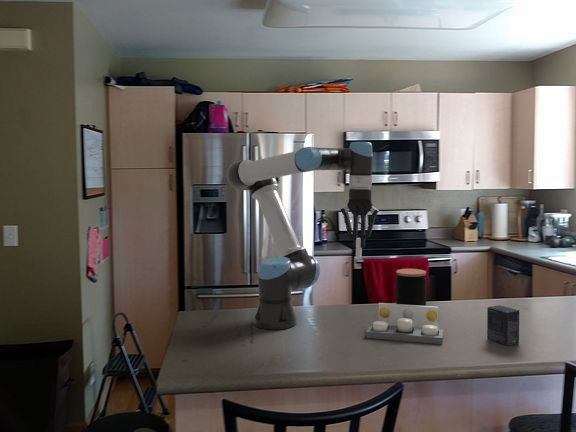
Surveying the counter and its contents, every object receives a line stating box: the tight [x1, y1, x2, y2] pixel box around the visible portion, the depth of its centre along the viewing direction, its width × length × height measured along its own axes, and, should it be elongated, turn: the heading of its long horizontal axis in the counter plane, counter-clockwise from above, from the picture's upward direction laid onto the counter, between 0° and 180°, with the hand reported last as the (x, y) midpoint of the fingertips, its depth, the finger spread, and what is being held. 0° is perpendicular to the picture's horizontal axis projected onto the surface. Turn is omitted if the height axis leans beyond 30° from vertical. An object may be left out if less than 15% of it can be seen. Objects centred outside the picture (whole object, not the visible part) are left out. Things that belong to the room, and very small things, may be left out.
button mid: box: [397, 318, 412, 332], centre depth 170 cm, size 5×5×3 cm
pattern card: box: [378, 302, 439, 328], centre depth 179 cm, size 20×1×8 cm, turn 71°
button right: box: [422, 325, 439, 336], centre depth 167 cm, size 5×5×3 cm
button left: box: [372, 320, 388, 332], centre depth 172 cm, size 5×5×3 cm
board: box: [365, 323, 444, 345], centre depth 170 cm, size 24×9×2 cm, turn 71°
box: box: [486, 304, 520, 346], centre depth 163 cm, size 8×6×11 cm
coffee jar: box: [395, 268, 427, 306], centre depth 188 cm, size 11×11×18 cm
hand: (358, 257), depth 177 cm, fingers closed
